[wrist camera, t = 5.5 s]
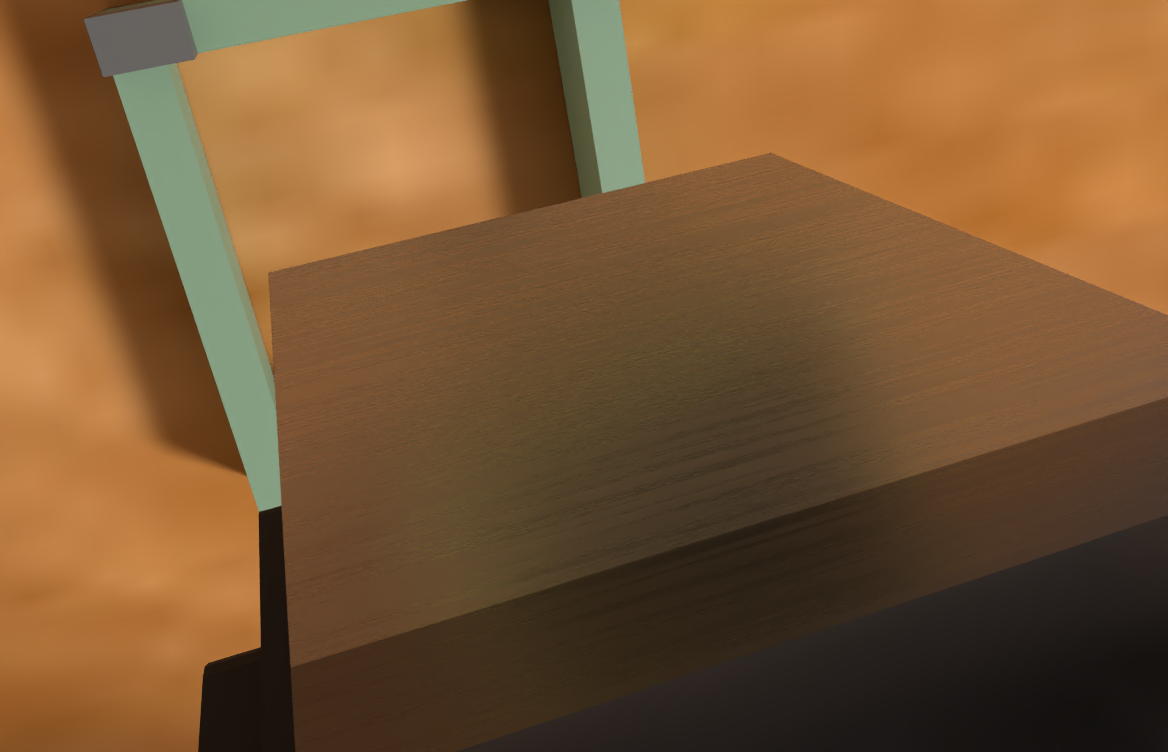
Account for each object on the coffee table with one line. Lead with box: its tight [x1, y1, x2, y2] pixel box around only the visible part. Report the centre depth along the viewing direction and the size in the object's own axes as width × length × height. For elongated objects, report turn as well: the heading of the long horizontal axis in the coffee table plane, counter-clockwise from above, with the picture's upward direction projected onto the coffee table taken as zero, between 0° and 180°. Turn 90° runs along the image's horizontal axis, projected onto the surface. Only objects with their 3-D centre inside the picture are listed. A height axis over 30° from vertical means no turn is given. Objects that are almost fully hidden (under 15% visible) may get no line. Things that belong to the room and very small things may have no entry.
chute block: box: [268, 153, 1168, 752], centre depth 9 cm, size 7×5×7 cm
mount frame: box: [84, 0, 645, 512], centre depth 23 cm, size 11×10×3 cm
